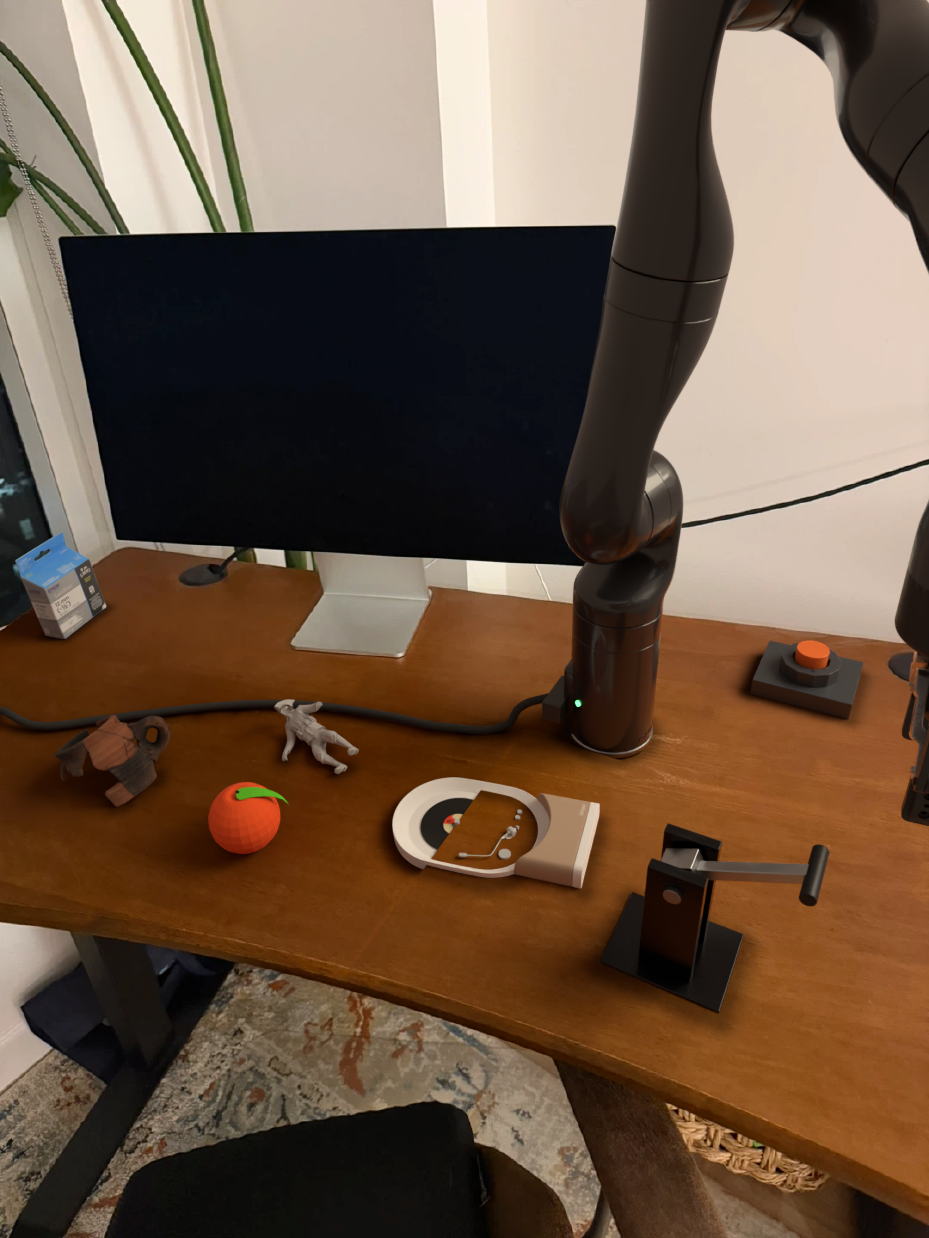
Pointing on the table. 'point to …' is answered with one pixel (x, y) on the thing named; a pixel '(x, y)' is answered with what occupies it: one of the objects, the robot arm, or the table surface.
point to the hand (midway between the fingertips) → (917, 777)
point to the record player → (551, 858)
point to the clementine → (244, 817)
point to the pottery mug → (118, 754)
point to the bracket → (676, 929)
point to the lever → (757, 870)
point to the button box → (807, 681)
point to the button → (812, 654)
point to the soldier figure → (311, 733)
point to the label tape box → (60, 587)
